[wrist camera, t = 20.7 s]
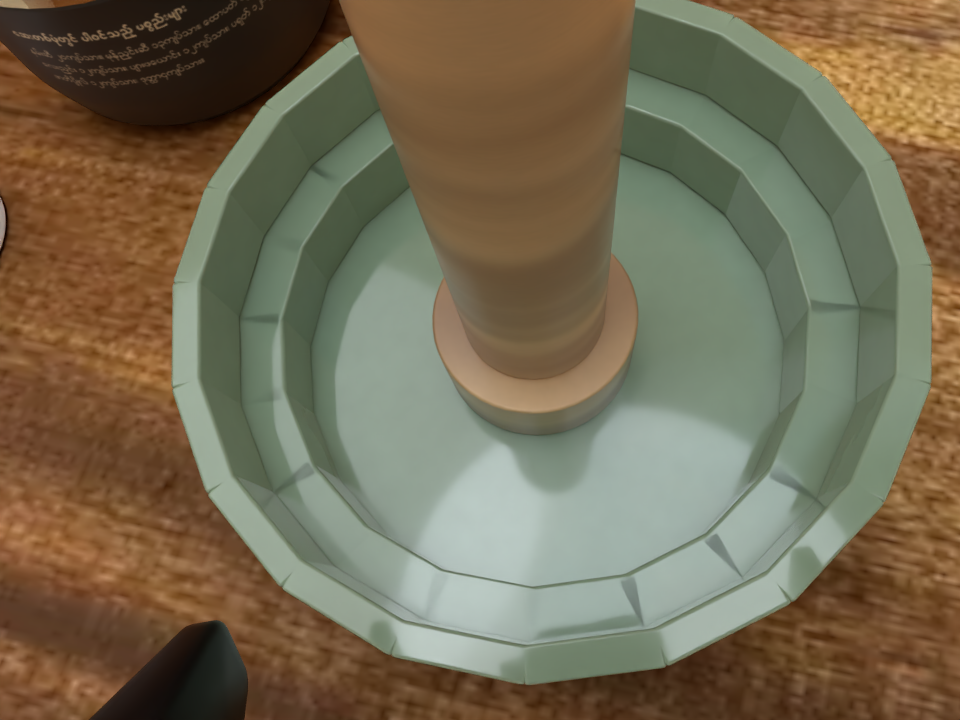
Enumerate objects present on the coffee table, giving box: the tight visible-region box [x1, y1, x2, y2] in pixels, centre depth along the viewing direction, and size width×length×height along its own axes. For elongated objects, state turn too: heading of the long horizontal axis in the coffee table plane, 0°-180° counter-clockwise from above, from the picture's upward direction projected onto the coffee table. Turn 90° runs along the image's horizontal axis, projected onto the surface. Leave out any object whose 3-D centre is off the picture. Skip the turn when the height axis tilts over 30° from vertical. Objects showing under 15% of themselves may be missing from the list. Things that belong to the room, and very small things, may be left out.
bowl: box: [172, 0, 932, 685], centre depth 16 cm, size 14×14×4 cm
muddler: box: [339, 0, 638, 435], centre depth 12 cm, size 4×4×13 cm
